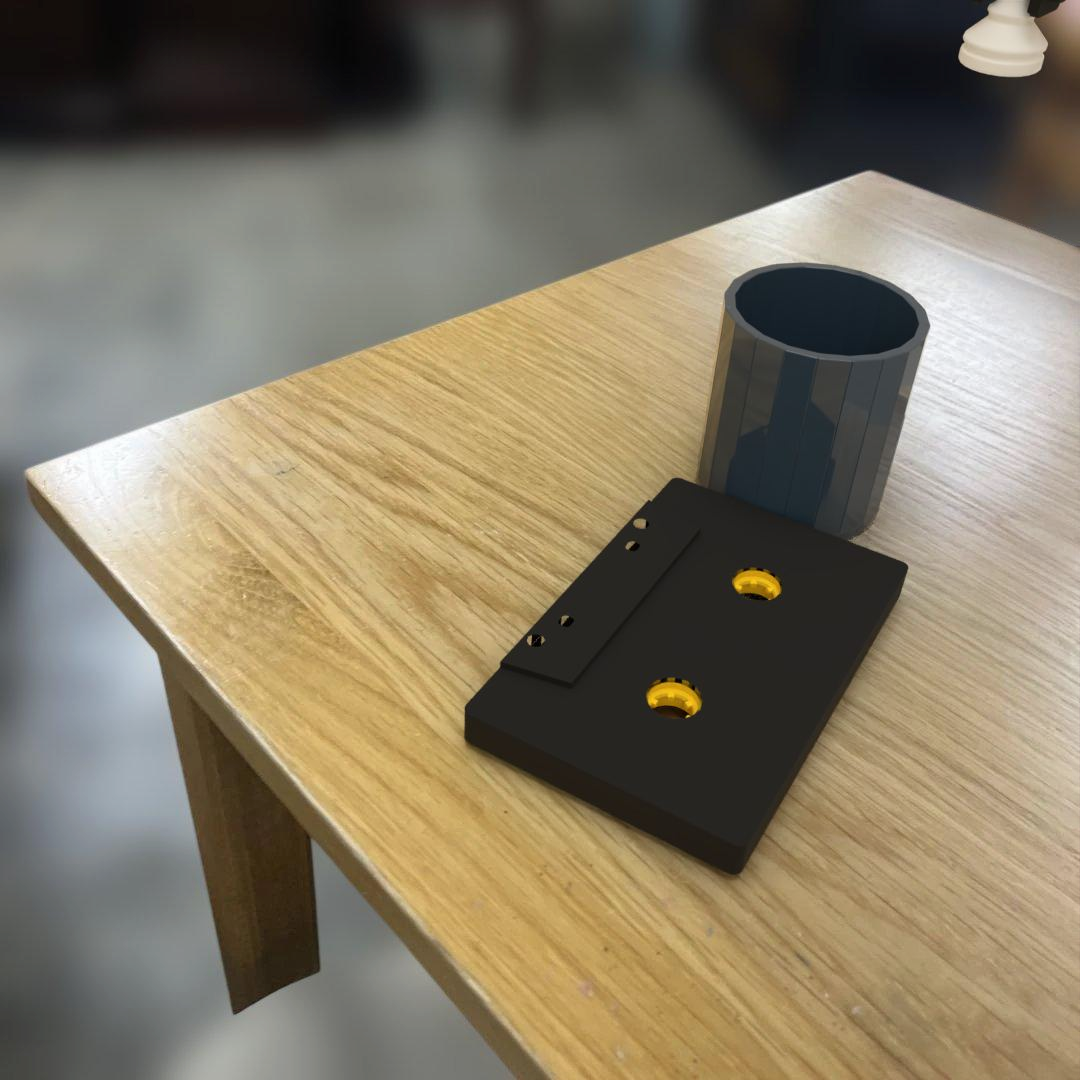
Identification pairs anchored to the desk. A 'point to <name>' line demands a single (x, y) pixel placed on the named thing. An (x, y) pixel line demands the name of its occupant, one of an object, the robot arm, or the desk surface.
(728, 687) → the cassette tape
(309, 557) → the desk surface
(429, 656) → the desk surface
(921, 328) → the pen holder
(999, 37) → the chess pawn
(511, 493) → the desk surface
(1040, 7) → the robot arm
